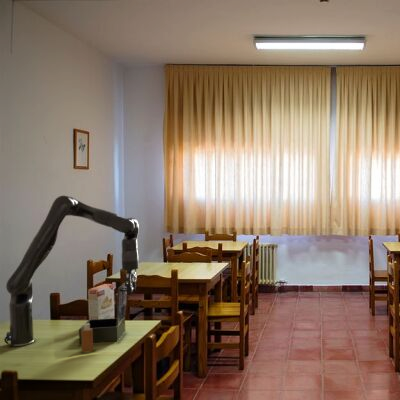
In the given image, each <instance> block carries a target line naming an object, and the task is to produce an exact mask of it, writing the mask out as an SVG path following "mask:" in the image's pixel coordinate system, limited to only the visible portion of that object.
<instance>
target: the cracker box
mask: <svg viewBox="0 0 400 400" xmlns="http://www.w3.org/2000/svg"><path fill="white" fill-rule="evenodd" d="M87 297H88V298H87V299H88V320H95V319H110V318H115V286H114V284H112V283H103V284H101V285H98V286H94V287H92V288H88V289H87Z"/></svg>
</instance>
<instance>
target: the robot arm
mask: <svg viewBox="0 0 400 400" xmlns="http://www.w3.org/2000/svg"><path fill="white" fill-rule="evenodd" d="M68 216H69V217H70V216H71V217H79V218H83V219H87V220H89V221H91V222H93V223H95V224H99V225H101V226H104V227H108V228H111V229H113V230H115V231H117V232H119V233H121V234H123V235H124V236H123V238H122V240H121V269H122V271H125V272H126V273H124V283H125V287H127V296H131V295H133V292H136V290H137V280H138V277H137V270H139V267H140V263H139V251H138V237H139V231H140V230H139V229H140V227H139V222H138V220H137V219H136V218H134V217H127V218H126V217H122V216H120V215H118V214H117V213H115V212H112V211H109V210H105V209H103V208H97V207H94V206H90V205H88V204H85V203H84V202H82V201H80V200H78V199H76V198H75V197H72V196H68V195H60V196H57V197H56V198H55V199H54V201H53V202H52V204H51V206H50V208H49V211H48V213H47V215H46V217H45V219H44V221H43V222H42V224H41V225H40V227H39V229H38V231H37V232H36V234H35V235H34V236H33V238H32V240H31V242H30V243H29V246H28V248H27V250H26V251H25V253H24V255H23V257H22V259H21V261H20V263H19V265H18V266H17V267H16V269H15V270H14V271H13V273H12V274H11V276H10V277H9V278H8V280H7V282H6V285H5V288H6V291H7V293H8V294H10V299H9V303H8V311H9V331H7V332H6V335H5V337H4V339H3V340H4V343H5V344H6V345H9V343H10V347H11V348H12V347H24V346H27V345H30V344H33V343H34V342H35V337H34V321H33V320H34V319H33V299H34V298H33V296H34V295H33V294H34V293H33V292H34V291H33V290H34V289H33V277H34V274H35V273H36V271H37V270H38V268H39V267H40V266H41V265H42V263H43V262H44V261H45V260H46V258H47V257H48V256H49V254H50V253H51V251H52V250H53V248H54V246H55V245H56V243H57V239H58V234H59V229H60V226H61V224H62V222H63V221H64V219H65V218H66V217H68ZM132 286H133V287H134V289H133V290H132Z"/></svg>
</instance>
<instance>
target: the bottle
mask: <svg viewBox="0 0 400 400" xmlns="http://www.w3.org/2000/svg"><path fill="white" fill-rule="evenodd" d="M83 325H84V329H82V330H81V339H82V344H81V351H82V352H85V353H88V352H91V351H93V350H94V343H93V330H92V328H90V324H89V323H87V324H85V323H84V324H83Z"/></svg>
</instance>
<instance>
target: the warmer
mask: <svg viewBox="0 0 400 400" xmlns="http://www.w3.org/2000/svg"><path fill="white" fill-rule="evenodd" d="M116 318H117V317H114V318H110V319H95V320H89V319H88V321H86V322H85V323H84V324H87V323H89V324H90V328H92V330H93V344H102V343H118V342H119V341H120V339H121V338H122V337H123V336H124V334H125V332H126V317H125V318H124V319H123V320H122V321H121V323H120V324H119V325H118V326H116ZM84 324H83V325H81V327H79V329H78V340H79V342H78V343H79V345H82V339H81V330H82V329H84Z"/></svg>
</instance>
